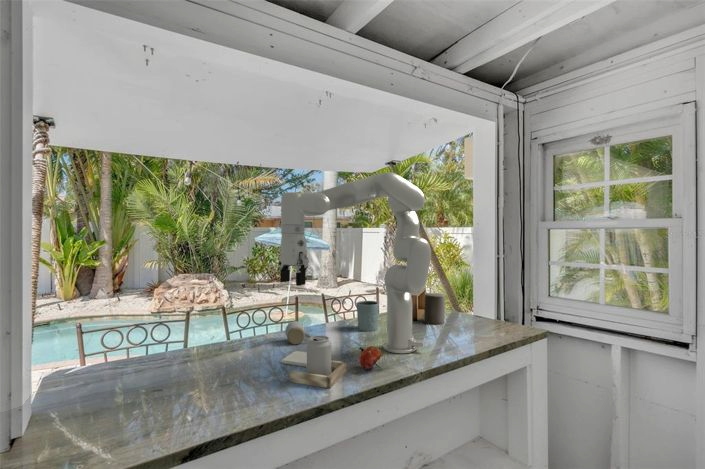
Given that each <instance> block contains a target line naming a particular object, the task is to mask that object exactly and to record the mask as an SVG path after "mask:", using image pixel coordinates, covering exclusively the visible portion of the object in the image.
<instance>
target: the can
mask: <svg viewBox="0 0 705 469" xmlns="http://www.w3.org/2000/svg"><path fill="white" fill-rule="evenodd" d="M311 336H312V335H311ZM306 352H307V367H306V373H312V374H318V375H325V376H329V375H330V374H331V373H332V371H331V360H332V342H331V340H330V337H329V336H326V335H313V336H312V337H310V338H309V341H308V342H307V343H306Z"/></svg>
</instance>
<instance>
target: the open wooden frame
mask: <svg viewBox="0 0 705 469" xmlns="http://www.w3.org/2000/svg"><path fill="white" fill-rule="evenodd" d="M347 365H348V364H347V362H346V361H339V360H332V359H331V374H330V375H329V376H325V375H318V374H312V373H307V372H305V371H297V370H290V371H289V382H290V383H295V384H302V385H307V386H313V387H319V388H326V389H327V388H328V389H331V388H332V387H333V386H334V385H335V384H336V383H337V382H338V381H339V380H340V379H341V378H342V377H343V376H344V375H345V374H346V373H347V370H348V369H347Z"/></svg>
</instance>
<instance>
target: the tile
mask: <svg viewBox="0 0 705 469" xmlns="http://www.w3.org/2000/svg"><path fill="white" fill-rule="evenodd" d="M280 362H281V364H286V365H287V364H288V365H292V366H299V367H305V368H307V351H301V350H300V351H299V350H295V351H293V352H292V353H290V354H289V355H287V356H285V357H284V358H282V359H281V360H280Z"/></svg>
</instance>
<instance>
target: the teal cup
mask: <svg viewBox="0 0 705 469" xmlns="http://www.w3.org/2000/svg"><path fill="white" fill-rule="evenodd" d="M356 317H357V326H358V327H357V328H358V330H359V331H362V332H374V331H375V332H376V331H377V330H378V322H379V320H378V319H379V302H378V301H376V300H360V301H356Z"/></svg>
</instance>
